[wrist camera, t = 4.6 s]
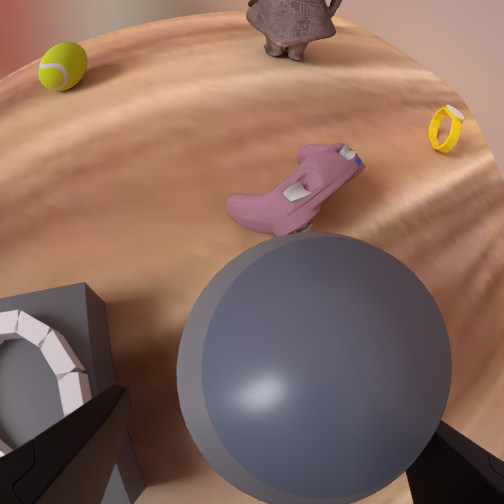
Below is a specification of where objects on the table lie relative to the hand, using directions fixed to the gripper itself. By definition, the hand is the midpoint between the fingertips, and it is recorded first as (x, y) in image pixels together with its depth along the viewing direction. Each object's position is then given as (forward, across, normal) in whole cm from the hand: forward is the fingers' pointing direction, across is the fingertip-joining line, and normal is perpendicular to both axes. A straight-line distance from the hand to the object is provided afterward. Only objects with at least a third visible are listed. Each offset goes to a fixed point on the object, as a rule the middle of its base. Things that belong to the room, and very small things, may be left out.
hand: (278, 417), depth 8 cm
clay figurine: (+37, -1, -24) cm, 44 cm away
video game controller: (+17, -2, -4) cm, 17 cm away
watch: (+28, -21, -14) cm, 38 cm away
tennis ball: (+28, +27, -15) cm, 41 cm away
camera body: (+4, +12, +8) cm, 15 cm away
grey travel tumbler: (+7, 0, +6) cm, 9 cm away
